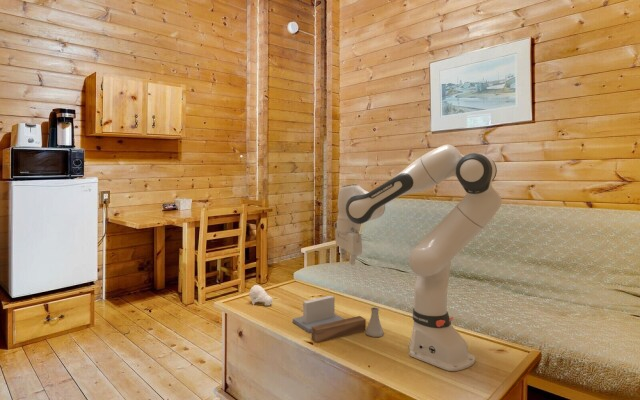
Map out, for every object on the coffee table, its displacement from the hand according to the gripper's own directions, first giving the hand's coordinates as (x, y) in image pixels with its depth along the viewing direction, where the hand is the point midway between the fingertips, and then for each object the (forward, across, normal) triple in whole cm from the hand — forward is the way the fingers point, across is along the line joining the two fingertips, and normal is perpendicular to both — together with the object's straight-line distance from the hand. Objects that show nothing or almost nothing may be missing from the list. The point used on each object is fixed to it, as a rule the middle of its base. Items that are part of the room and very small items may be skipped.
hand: (347, 261), depth 150 cm
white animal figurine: (+29, +40, +28) cm, 57 cm away
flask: (+28, -6, -10) cm, 30 cm away
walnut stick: (+28, -3, +4) cm, 29 cm away
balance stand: (+28, +10, +8) cm, 31 cm away
